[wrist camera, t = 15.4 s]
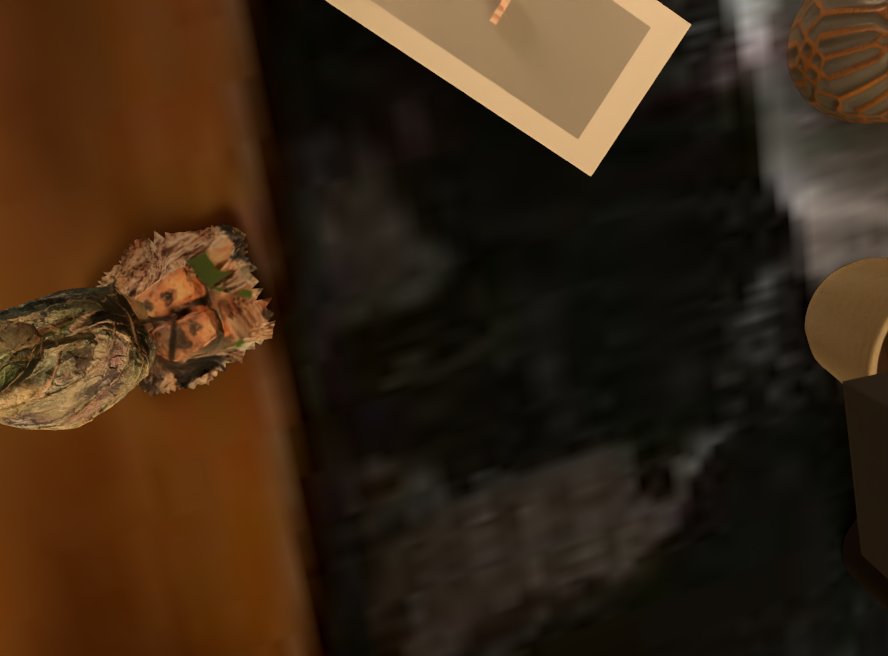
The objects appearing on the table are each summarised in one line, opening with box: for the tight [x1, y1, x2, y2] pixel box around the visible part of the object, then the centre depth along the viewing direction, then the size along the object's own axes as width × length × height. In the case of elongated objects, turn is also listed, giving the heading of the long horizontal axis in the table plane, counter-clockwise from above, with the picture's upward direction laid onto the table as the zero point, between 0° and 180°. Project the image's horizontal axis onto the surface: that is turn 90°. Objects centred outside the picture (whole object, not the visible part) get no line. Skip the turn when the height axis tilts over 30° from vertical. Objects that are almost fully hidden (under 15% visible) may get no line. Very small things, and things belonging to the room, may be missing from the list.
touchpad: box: [325, 0, 691, 176], centre depth 33 cm, size 8×15×2 cm, turn 58°
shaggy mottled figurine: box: [0, 223, 276, 430], centre depth 27 cm, size 8×11×20 cm
